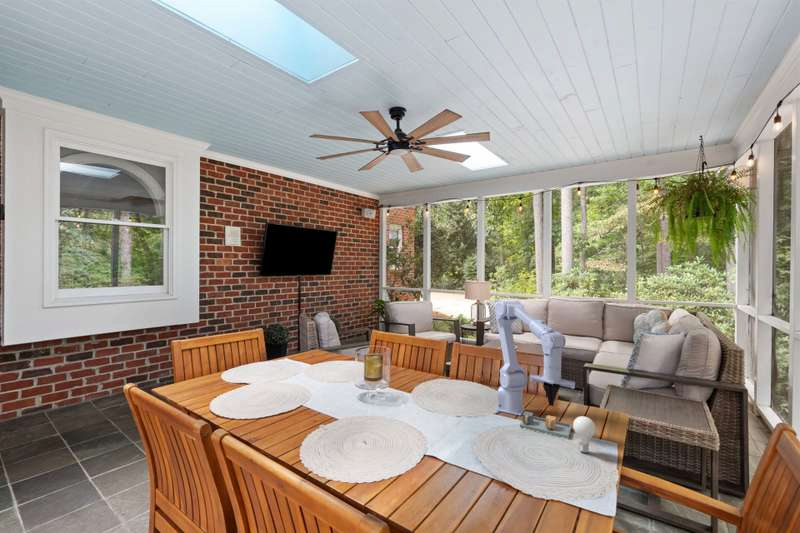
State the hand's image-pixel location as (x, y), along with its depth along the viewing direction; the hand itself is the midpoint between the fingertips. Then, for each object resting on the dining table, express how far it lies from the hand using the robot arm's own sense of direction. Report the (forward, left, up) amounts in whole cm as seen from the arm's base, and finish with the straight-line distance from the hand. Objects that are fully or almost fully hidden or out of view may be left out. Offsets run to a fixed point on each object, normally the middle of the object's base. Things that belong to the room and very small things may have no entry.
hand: (551, 404), depth 128 cm
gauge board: (-2, +2, -9) cm, 10 cm away
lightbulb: (+11, -10, -10) cm, 18 cm away
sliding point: (0, 0, -8) cm, 8 cm away
